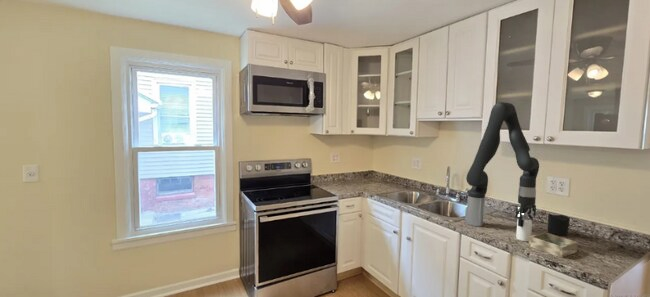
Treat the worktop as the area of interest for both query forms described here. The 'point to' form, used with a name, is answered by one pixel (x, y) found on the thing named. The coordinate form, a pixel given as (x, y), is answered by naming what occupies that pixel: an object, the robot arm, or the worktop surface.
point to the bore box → (553, 244)
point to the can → (524, 230)
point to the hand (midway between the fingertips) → (525, 225)
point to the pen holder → (558, 224)
